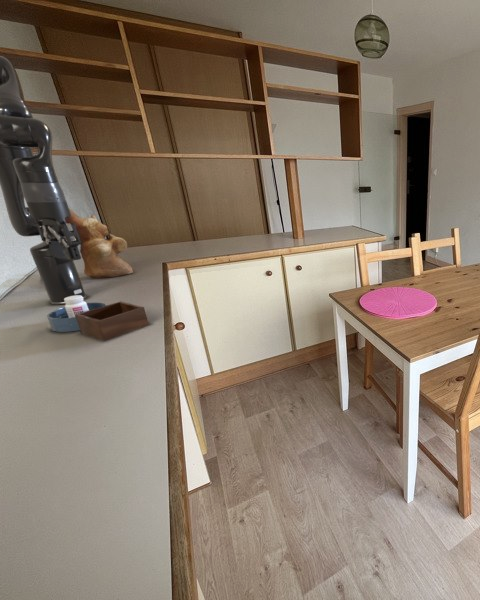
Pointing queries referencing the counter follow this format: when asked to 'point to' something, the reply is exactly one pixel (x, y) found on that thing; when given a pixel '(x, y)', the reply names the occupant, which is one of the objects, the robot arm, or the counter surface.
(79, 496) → the counter surface
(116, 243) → the tan lumpy upright piece
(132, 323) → the box
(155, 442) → the counter surface
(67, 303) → the pill bottle
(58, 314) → the bowl
